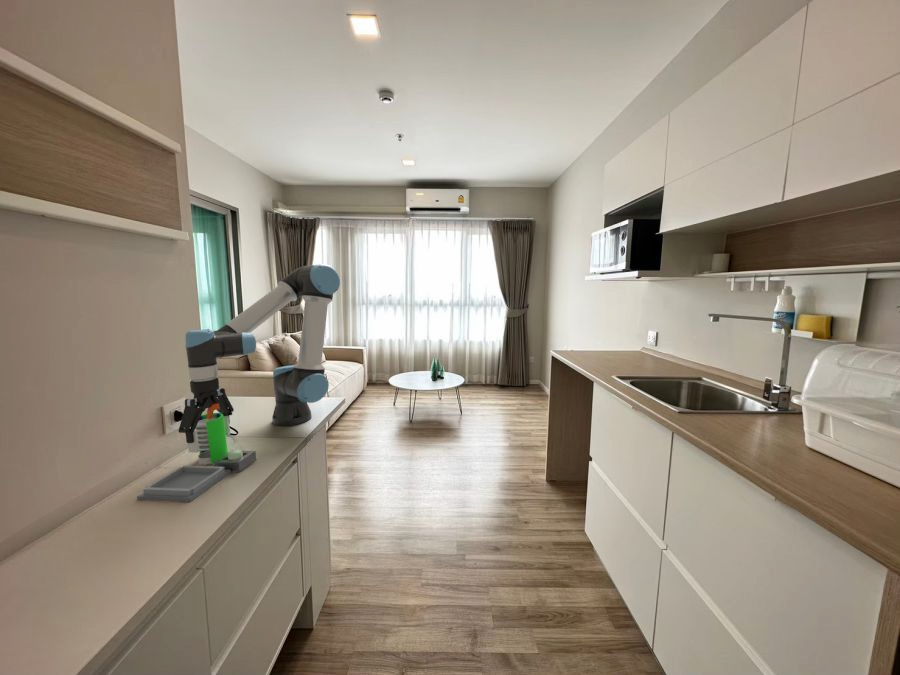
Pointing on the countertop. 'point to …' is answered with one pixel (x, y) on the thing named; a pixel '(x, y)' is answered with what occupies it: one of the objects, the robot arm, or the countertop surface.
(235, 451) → the button
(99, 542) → the countertop surface
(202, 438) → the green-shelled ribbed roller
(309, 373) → the robot arm
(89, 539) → the countertop surface
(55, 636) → the countertop surface
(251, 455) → the dark grey square holder
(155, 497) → the grey square tray
